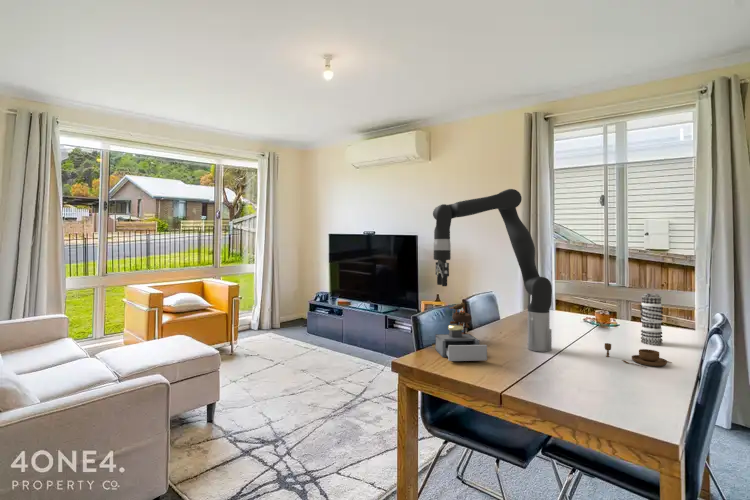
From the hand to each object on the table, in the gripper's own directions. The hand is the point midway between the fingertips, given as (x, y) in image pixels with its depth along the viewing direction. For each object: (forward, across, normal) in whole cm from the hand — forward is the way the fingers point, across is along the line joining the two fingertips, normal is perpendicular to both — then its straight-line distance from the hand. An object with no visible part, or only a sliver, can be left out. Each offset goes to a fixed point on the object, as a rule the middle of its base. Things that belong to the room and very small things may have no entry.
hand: (442, 285), depth 173 cm
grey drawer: (+30, -11, -6) cm, 32 cm away
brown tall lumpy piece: (+30, +17, -14) cm, 37 cm away
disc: (+20, -1, -6) cm, 21 cm away
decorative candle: (+30, +4, -104) cm, 108 cm away
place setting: (+30, -18, -79) cm, 87 cm away
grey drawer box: (+30, -3, -6) cm, 30 cm away
